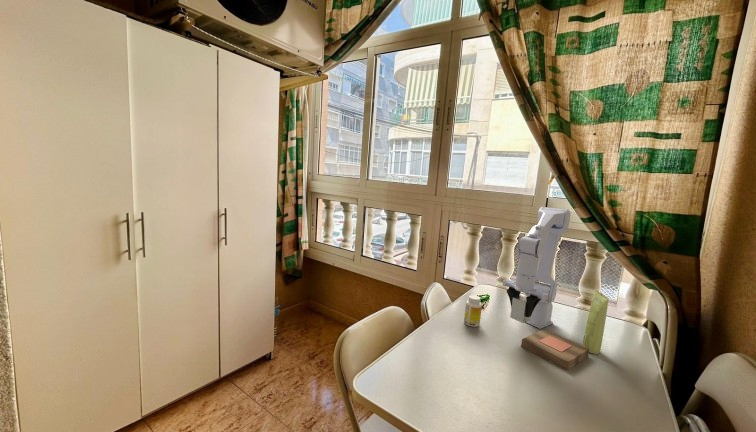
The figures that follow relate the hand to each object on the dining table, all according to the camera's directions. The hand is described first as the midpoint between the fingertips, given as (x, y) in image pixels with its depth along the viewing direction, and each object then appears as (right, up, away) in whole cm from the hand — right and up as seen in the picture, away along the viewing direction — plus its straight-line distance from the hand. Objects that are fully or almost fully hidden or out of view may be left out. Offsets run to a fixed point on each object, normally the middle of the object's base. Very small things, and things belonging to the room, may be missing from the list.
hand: (521, 313), depth 104 cm
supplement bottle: (-13, -7, +11) cm, 18 cm away
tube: (+22, -12, -2) cm, 25 cm away
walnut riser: (+8, -11, -4) cm, 14 cm away
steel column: (0, -2, 0) cm, 2 cm away
